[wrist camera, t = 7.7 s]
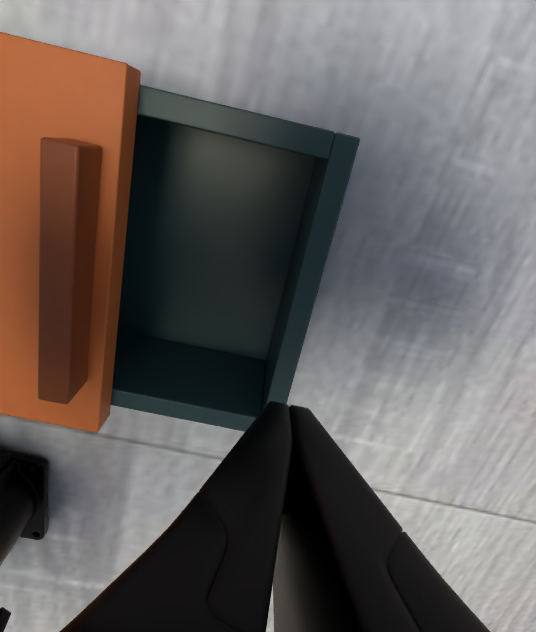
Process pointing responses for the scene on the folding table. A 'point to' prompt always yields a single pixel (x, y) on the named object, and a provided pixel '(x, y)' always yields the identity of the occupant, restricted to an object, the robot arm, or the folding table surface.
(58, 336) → the bin lid
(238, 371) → the bin
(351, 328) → the folding table surface
